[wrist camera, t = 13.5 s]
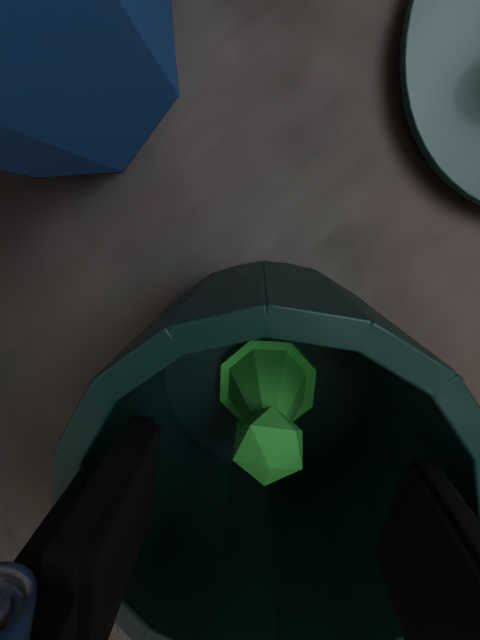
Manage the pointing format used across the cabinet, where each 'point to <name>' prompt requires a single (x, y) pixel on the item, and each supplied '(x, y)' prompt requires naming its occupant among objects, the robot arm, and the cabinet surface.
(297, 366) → the game piece
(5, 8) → the water bottle
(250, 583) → the tin
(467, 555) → the robot arm
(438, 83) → the lid
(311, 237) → the cabinet surface
